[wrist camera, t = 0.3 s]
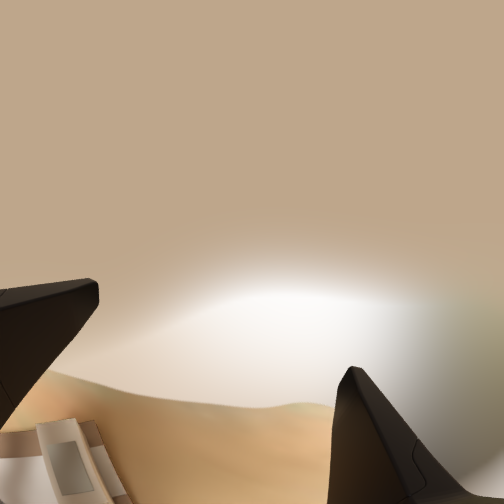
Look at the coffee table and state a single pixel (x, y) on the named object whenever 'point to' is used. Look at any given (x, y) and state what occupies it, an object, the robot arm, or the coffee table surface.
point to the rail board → (58, 466)
